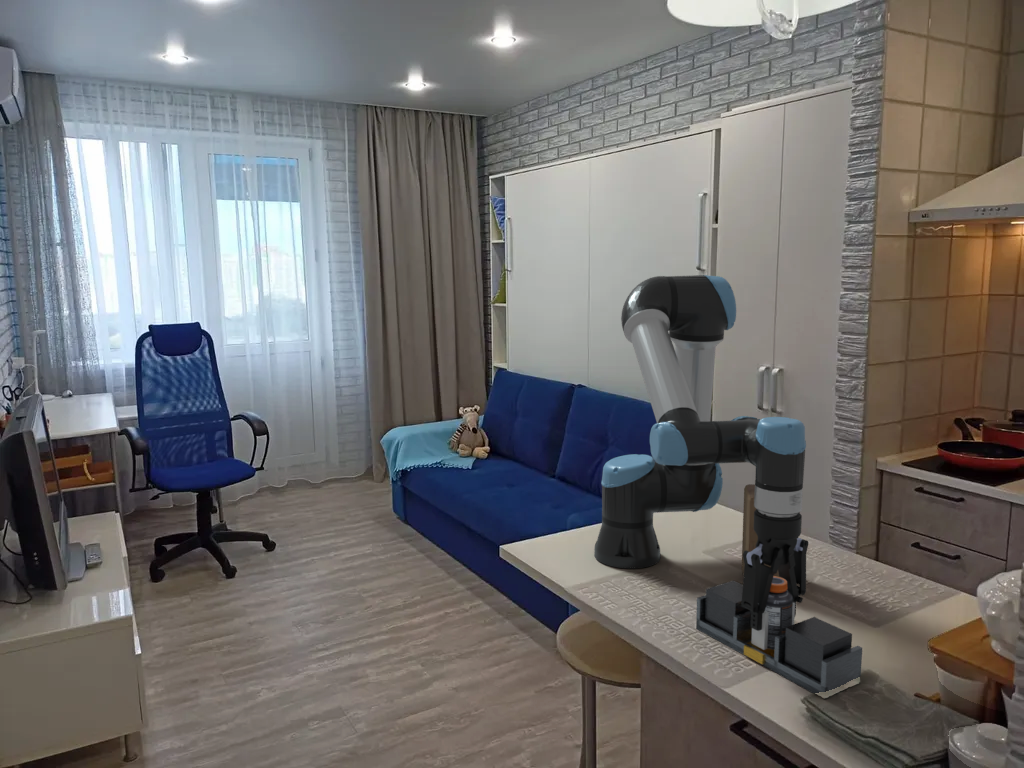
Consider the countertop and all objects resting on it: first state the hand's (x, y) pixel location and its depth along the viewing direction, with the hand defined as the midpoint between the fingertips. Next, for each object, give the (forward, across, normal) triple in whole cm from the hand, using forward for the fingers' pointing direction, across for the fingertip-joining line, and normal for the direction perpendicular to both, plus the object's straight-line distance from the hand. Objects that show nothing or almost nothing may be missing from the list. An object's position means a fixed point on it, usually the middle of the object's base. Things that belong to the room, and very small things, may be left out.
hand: (772, 640), depth 126 cm
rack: (+2, 0, 0) cm, 2 cm away
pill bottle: (+1, 0, 0) cm, 1 cm away
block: (+3, +24, +21) cm, 32 cm away
